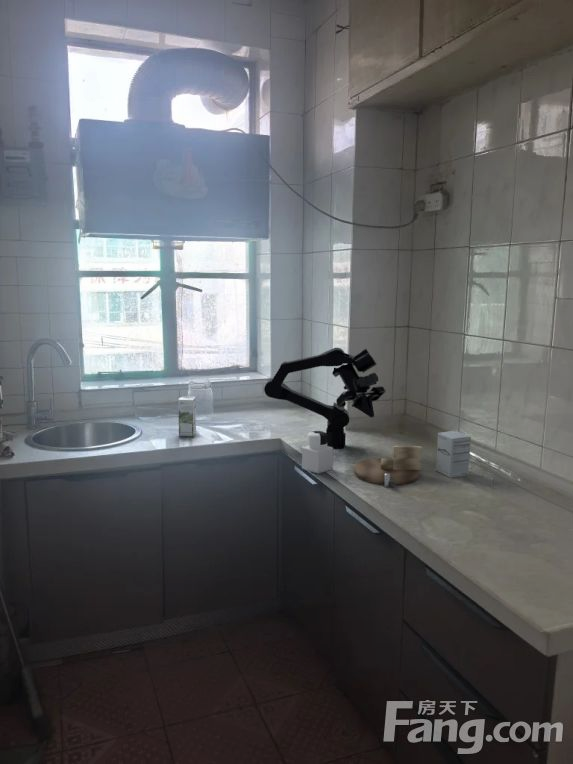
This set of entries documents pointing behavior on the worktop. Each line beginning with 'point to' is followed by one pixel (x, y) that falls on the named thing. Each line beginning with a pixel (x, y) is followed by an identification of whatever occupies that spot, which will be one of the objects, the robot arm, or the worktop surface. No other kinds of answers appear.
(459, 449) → the supplement box
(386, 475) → the steel dowel
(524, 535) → the worktop surface
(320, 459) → the medicine bottle
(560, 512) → the worktop surface
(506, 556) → the worktop surface
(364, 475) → the walnut flange plate
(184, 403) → the syrup box
